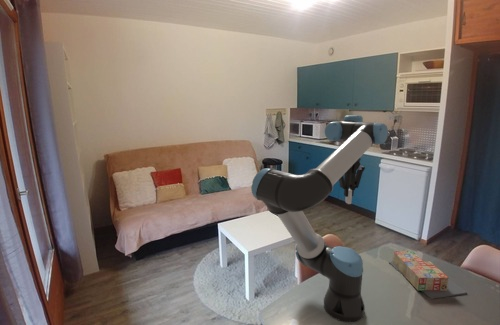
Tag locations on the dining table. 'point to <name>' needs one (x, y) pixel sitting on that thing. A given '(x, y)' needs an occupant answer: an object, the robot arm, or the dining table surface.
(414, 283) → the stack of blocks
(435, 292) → the mat
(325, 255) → the robot arm
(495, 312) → the dining table surface
